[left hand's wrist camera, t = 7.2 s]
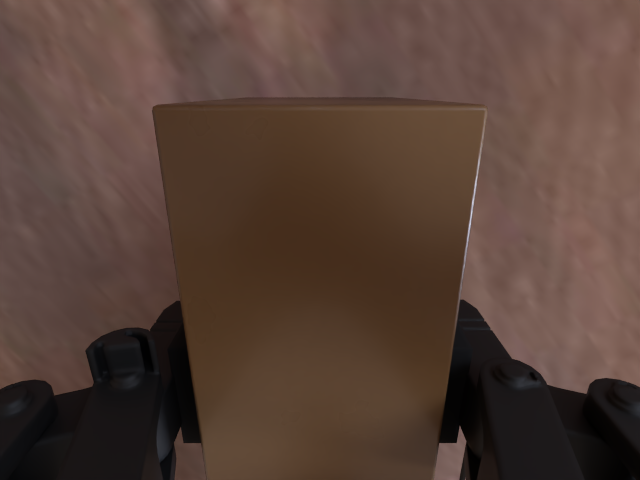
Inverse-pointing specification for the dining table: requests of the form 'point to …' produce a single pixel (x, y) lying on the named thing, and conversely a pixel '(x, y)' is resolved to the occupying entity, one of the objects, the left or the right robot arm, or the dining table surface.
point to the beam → (320, 277)
